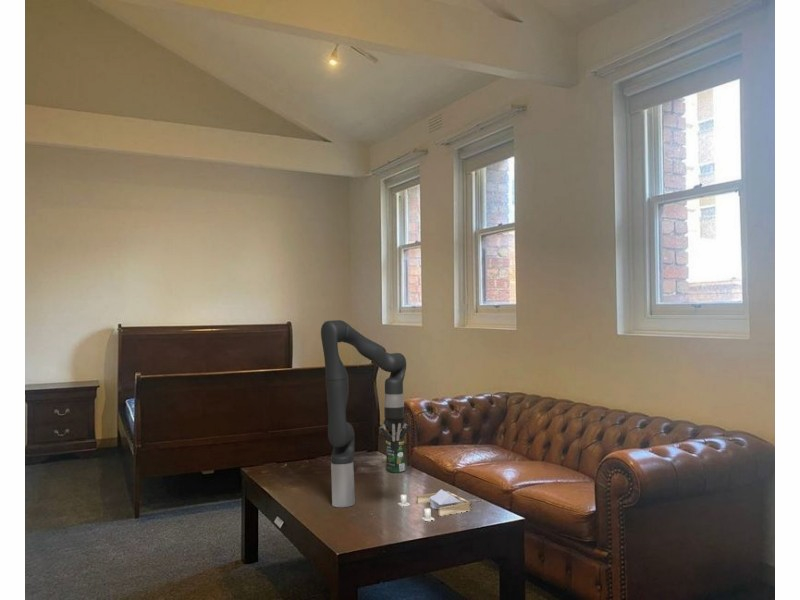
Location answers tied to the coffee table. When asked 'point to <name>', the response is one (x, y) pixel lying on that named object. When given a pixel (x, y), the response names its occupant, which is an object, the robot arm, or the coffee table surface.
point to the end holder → (447, 510)
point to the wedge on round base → (442, 500)
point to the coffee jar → (395, 458)
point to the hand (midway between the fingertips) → (394, 450)
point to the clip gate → (426, 510)
